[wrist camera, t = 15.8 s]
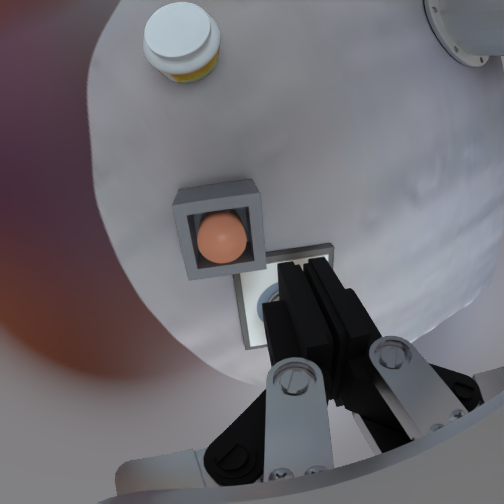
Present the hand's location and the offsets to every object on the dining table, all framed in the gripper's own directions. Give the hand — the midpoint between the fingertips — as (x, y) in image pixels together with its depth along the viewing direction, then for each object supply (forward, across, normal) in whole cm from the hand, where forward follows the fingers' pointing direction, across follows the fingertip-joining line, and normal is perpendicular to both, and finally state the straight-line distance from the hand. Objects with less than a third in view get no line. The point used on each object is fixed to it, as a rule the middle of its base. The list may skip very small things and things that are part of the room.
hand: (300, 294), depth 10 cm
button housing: (+18, +3, +4) cm, 19 cm away
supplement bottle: (+19, +4, -12) cm, 23 cm away
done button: (+16, +3, +4) cm, 17 cm away
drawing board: (+18, -2, +15) cm, 24 cm away
